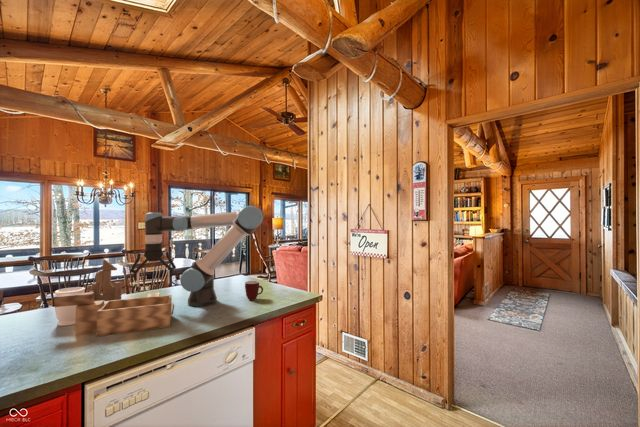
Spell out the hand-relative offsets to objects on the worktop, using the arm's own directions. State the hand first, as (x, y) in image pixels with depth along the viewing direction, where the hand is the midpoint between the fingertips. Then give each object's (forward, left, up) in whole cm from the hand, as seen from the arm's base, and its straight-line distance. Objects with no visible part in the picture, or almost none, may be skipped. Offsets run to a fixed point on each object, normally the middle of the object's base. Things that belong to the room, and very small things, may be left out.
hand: (153, 284), depth 148 cm
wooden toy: (+24, -18, -14) cm, 33 cm away
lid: (+4, 0, -14) cm, 15 cm away
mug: (-52, -2, -14) cm, 53 cm away
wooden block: (+27, +19, -2) cm, 33 cm away
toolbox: (+8, +19, -13) cm, 25 cm away
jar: (+32, +4, -14) cm, 35 cm away
